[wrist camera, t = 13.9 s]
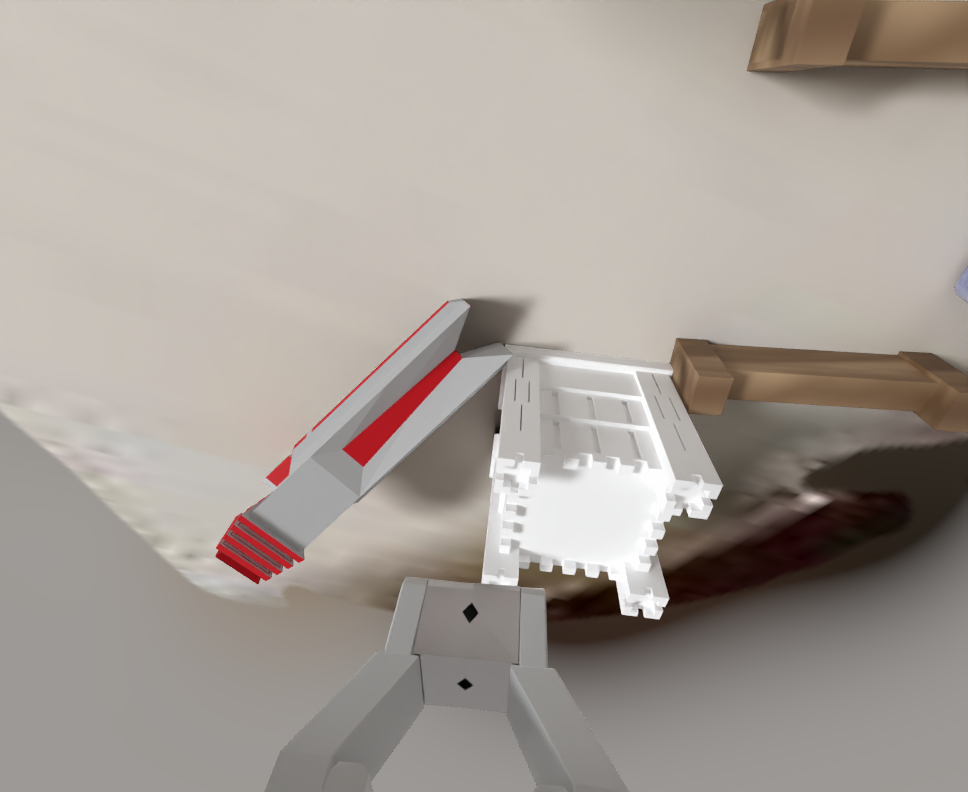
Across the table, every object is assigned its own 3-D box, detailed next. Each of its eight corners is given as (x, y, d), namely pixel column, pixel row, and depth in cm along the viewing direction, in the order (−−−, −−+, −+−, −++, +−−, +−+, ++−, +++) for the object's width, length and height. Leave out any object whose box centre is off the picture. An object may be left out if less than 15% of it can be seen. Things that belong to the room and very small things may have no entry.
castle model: (628, 485, 48) (662, 622, 36) (490, 468, 49) (475, 597, 36) (669, 362, 41) (731, 481, 28) (505, 343, 41) (493, 452, 28)
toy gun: (484, 331, 50) (523, 364, 36) (296, 506, 52) (264, 603, 38) (439, 281, 48) (463, 297, 34) (244, 467, 50) (190, 555, 36)
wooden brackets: (764, 4, 28) (819, -19, 23) (1131, 10, 27) (1283, -12, 21) (667, 372, 41) (688, 413, 36) (911, 387, 40) (970, 432, 34)
